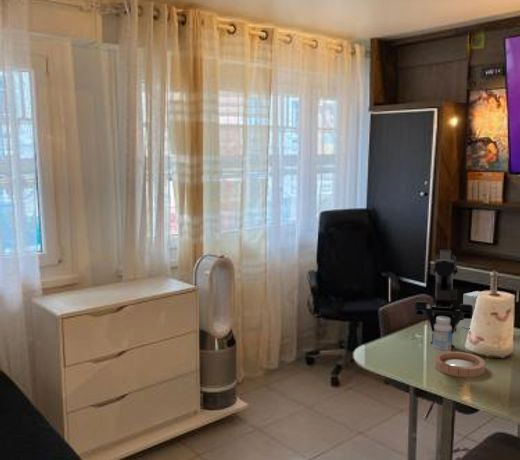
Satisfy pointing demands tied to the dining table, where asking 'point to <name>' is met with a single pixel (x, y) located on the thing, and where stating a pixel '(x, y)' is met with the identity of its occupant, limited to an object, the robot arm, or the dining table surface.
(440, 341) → the pill bottle
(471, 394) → the dining table surface
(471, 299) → the skincare box
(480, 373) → the round dish
